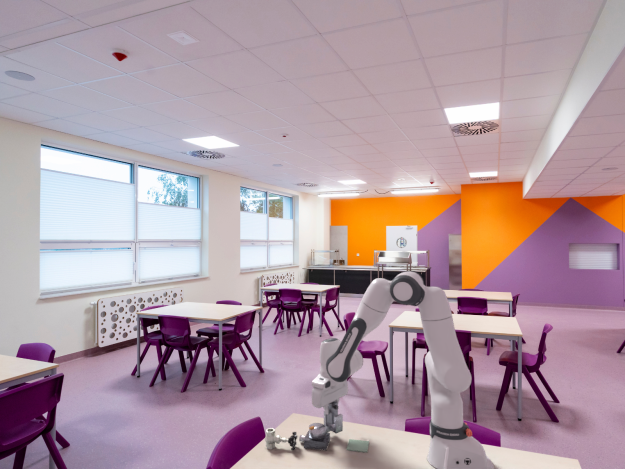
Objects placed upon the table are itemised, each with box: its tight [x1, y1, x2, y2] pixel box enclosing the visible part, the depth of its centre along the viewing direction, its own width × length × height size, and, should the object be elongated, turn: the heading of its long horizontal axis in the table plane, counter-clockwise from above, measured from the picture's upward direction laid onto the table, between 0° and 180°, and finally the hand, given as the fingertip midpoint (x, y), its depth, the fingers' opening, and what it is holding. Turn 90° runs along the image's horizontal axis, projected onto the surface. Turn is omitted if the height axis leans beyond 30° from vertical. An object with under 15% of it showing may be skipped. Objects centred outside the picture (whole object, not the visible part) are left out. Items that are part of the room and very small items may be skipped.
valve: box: [264, 427, 298, 451], centre depth 153 cm, size 7×7×12 cm
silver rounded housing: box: [308, 411, 344, 440], centre depth 158 cm, size 14×8×7 cm, turn 129°
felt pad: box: [346, 438, 370, 453], centre depth 154 cm, size 8×8×1 cm
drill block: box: [298, 430, 331, 451], centre depth 156 cm, size 12×8×3 cm
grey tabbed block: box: [326, 401, 339, 425], centre depth 162 cm, size 3×6×8 cm, turn 40°
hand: (331, 411), depth 162 cm, fingers closed on grey tabbed block, 4 cm apart
